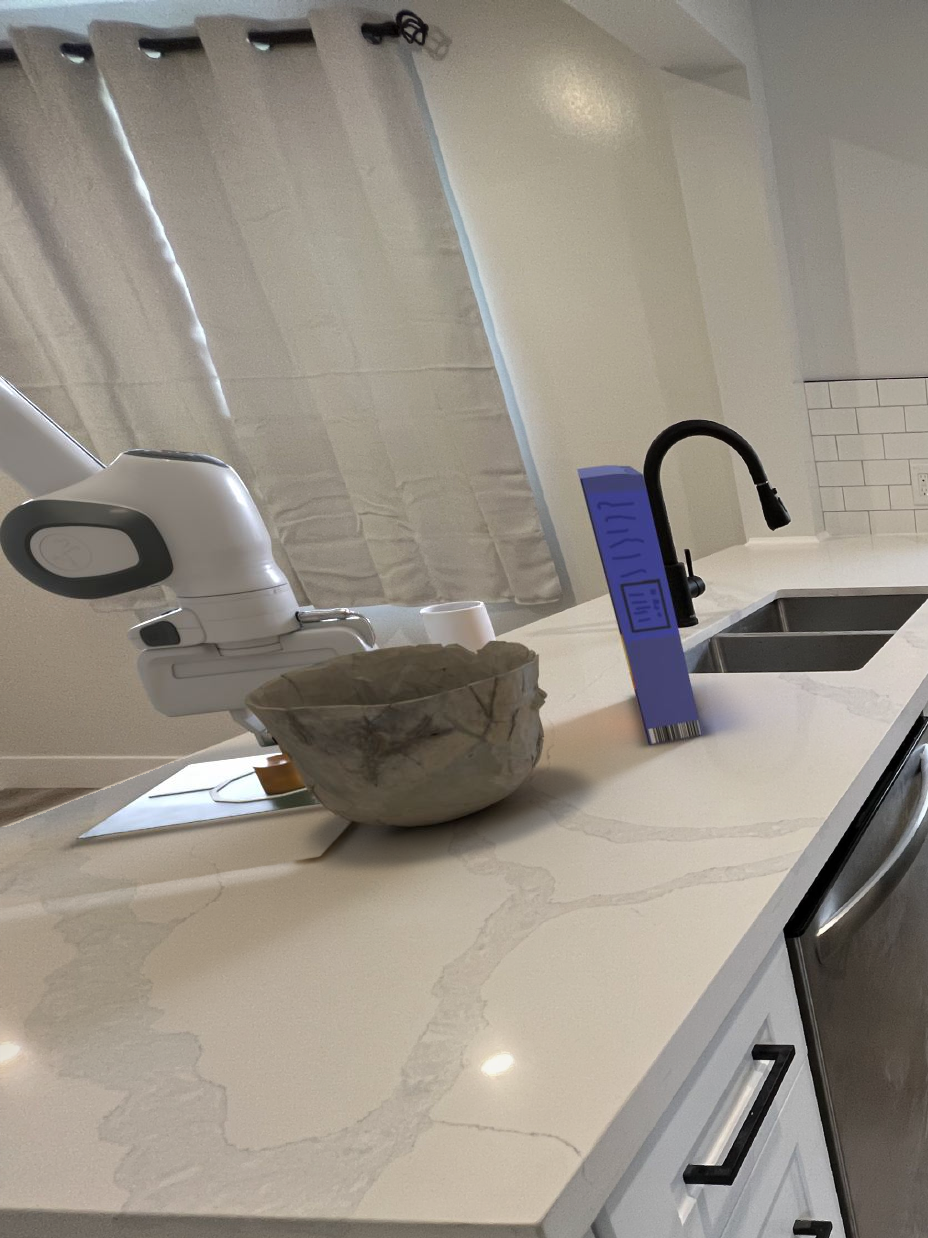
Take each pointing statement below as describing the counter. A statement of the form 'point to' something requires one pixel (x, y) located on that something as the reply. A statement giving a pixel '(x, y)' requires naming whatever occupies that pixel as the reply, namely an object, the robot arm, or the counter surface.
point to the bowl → (409, 729)
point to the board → (202, 798)
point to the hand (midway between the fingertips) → (301, 741)
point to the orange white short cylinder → (277, 774)
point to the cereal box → (641, 600)
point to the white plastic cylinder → (459, 624)
